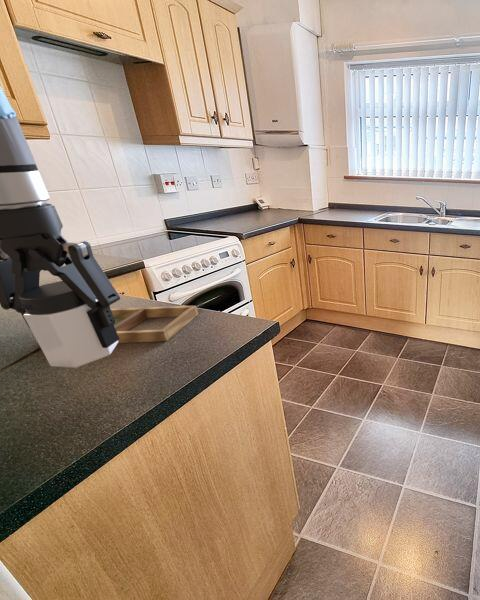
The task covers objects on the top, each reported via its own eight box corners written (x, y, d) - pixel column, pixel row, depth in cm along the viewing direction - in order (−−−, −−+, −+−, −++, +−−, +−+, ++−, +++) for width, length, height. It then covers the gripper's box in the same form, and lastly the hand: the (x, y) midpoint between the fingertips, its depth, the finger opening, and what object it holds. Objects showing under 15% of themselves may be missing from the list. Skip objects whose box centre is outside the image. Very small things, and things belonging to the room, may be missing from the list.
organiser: (48, 346, 74) (43, 336, 73) (97, 318, 87) (93, 309, 86) (166, 341, 74) (163, 331, 73) (198, 314, 87) (196, 305, 86)
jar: (67, 346, 59) (35, 283, 54) (123, 336, 62) (98, 275, 57) (42, 375, 51) (2, 304, 47) (107, 362, 54) (76, 294, 49)
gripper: (114, 199, 50) (161, 331, 59) (-33, 203, 50) (38, 334, 59) (71, 207, 43) (131, 354, 53) (-100, 211, 43) (-9, 359, 52)
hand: (82, 344), depth 56 cm, fingers closed on jar, 9 cm apart
